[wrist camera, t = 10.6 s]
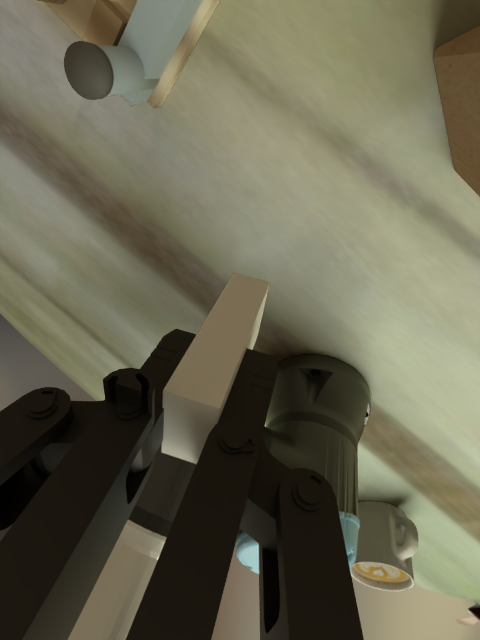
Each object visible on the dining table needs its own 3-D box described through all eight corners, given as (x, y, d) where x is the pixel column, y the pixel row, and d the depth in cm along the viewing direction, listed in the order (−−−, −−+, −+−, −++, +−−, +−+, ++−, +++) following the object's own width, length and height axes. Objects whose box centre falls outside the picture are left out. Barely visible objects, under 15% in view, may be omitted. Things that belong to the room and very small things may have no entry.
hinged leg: (119, 75, 33) (56, 78, 26) (174, -41, 27) (112, -78, 20) (148, 104, 34) (94, 114, 27) (207, -4, 28) (159, -26, 21)
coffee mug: (374, 534, 70) (376, 593, 62) (338, 508, 68) (336, 566, 60) (436, 519, 62) (448, 585, 54) (398, 490, 60) (404, 554, 52)
